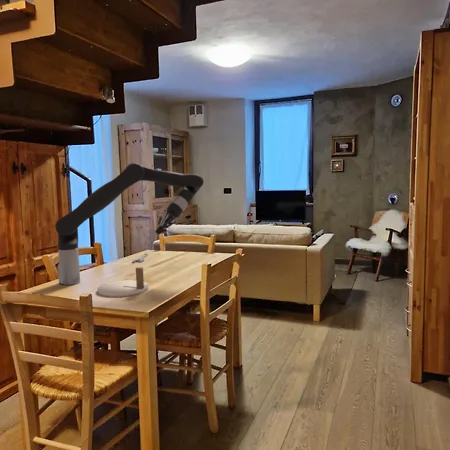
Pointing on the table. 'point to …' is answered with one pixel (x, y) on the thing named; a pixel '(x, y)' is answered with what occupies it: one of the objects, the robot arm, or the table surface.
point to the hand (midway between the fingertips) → (157, 233)
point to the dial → (125, 286)
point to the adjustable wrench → (140, 258)
